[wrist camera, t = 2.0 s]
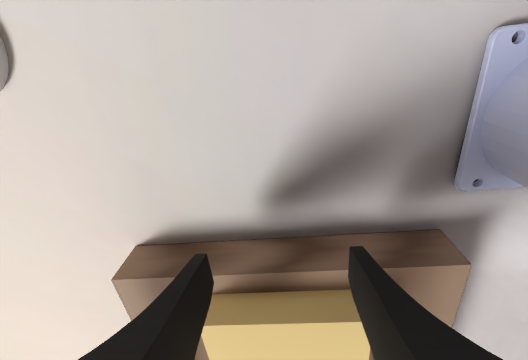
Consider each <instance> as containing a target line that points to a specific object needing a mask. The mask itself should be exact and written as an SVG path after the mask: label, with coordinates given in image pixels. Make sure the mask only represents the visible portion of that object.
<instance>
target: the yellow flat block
mask: <svg viewBox="0 0 528 360" xmlns="http://www.w3.org/2000/svg"><path fill="white" fill-rule="evenodd" d="M201 336H202V339H203V342H204V345H205V348H206V351H207V354H208V357H209V360H369V354H370V345H369V342H368V339H367V336H366V334H365V331H364V328H363V325H362V322H361V320H360V317H359V314H358V311H357V308H356V305H355V303H354V300H353V297H352V292H351V289H349V290H321V291H293V292H266V293H238V294H212V298H211V303H210V307H209V310H208V314H207V317H206V320H205V324H204V327H203V330H202V334H201Z"/></svg>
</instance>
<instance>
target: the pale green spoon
mask: <svg viewBox="0 0 528 360" xmlns="http://www.w3.org/2000/svg"><path fill="white" fill-rule="evenodd" d="M8 73H9V62H8V56H7V52H6V49H5V46H4V43H3V41H2V39H1V36H0V90H1V89H2V88H3V87H4V85H5V83H6V81H7V78H8Z"/></svg>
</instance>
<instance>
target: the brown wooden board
mask: <svg viewBox="0 0 528 360" xmlns="http://www.w3.org/2000/svg"><path fill="white" fill-rule="evenodd" d="M350 246H363V247H364V248H365V249H366V250H367V251H368V253H369V254H370V255H371V256H372V257H373V258H374V260H375V261H376V262H377V263H378V264H379V265H380V266H381V267H382V268H383V270H384V271H385V272H386V273H387V274H388V275H389V276H390V277H391V278H392V279H393V280H394V281H395V282H396V283H397V284H398V285H399V286H400V287H401V288H402V289H403V290H405V291H406V292H407V293H408V294H409V295H410V296H411V297H412V298H413V299H414V300H416V301H417V302H418V303H419V304H420V305H422V306H423V307H424V308H425V309H426V310H428V311H429V312H430V313H432V314H433V315H434V316H435V317H437V318H438V319H440V320H441V321H442V322H444V323H445V324H447V325H448V326H450V327H451V328H452V325H453V322H454V319H455V315H456V312H457V309H458V306H459V303H460V300H461V296H462V293H463V290H464V287H465V284H466V281H467V278H468V274H469V271H470V268H471V264H470V262H469V261H468V260H467V259H466V258H465V257H464V256H463V255H462V253H461V252H460V251H459V250H458V249H457V248H456V247H455V246H454V244H453V243H452V242H451V241H450V240H449V239H448V238H447V237H446V235H445V234H444V233H443V232H442V231H441V230H422V231H404V232H385V233H367V234H348V235H330V236H312V237H293V238H275V239H256V240H238V241H220V242H201V243H183V244H164V245H146V246H135V248H134V249H133V250H132V252H131V253H130V255H129V256H128V257H127V259H126V260H125V262H124V263H123V264H122V266H121V267H120V269H119V270H118V271H117V273H116V274H115V276H114V277H113V278H112V280H111V281H112V283H113V285H114V287H115V289H116V291H117V293H118V295H119V297H120V299H121V301H122V303H123V305H124V307H125V309H126V311H127V313H128V315H129V317H130V319H131V321H132V320H133V319H134V318H136V317H137V316H138V315H139V314H140V313H141V312H142V311H143V310H145V309H146V308H147V307H148V306H149V305H150V304H151V303H152V302H153V301H154V300H155V299H156V298H157V297H158V296H159V295H160V294H161V293H162V292H163V290H164V289H165V288H166V287H167V286H168V285H169V284H170V283H171V282H172V281H173V279H174V278H175V277H176V276H177V275H178V274H179V272H180V271H181V270H182V269H183V268H184V267H185V265H186V264H187V263H188V262H189V261H190V259H191V258H192V257H193V256H194V255H195V254H204V253H207V256H208V260H209V264H210V268H211V272H212V276H213V280H214V286H213V293H212V294H238V293H266V292H293V291H321V290H349V289H351V288H350V284H349V279H348V267H349V247H350ZM195 360H209V357H208V354H207V351H206V348H205V345H204V342H203V339H202V336H201V337H200V341H199V344H198V347H197V351H196V355H195ZM369 360H374V358H373V355H372V351H371V348H370V354H369Z"/></svg>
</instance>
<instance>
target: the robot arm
mask: <svg viewBox="0 0 528 360" xmlns="http://www.w3.org/2000/svg"><path fill="white" fill-rule="evenodd" d="M516 32H517V33H518V37H517V39H516V41H515V42H514V43H512V37H513V35H514V34H515V33H516ZM476 179H478V180H477V182H476V183H474V184H472V183H473V182H474V181H475V180H476ZM454 185H455V186H456V187H457V188H458V189H459V190H461V191H476V190H492V189H507V188H522V187H526V188H527V189H528V23H524V24H515V25H507V26H501V27H498V28H497V29H495V30H494V31H493V32H492V33H491V34H490V36H489V38H488V41H487V45H486V50H485V54H484V58H483V62H482V67H481V71H480V75H479V79H478V83H477V88H476V92H475V96H474V100H473V105H472V109H471V113H470V117H469V122H468V126H467V130H466V134H465V139H464V143H463V147H462V151H461V156H460V160H459V164H458V168H457V173H456V177H455V181H454ZM348 279H349V284H350V288H351V292H352V297H353V300H354V303H355V305H356V308H357V311H358V314H359V317H360V320H361V322H362V325H363V328H364V331H365V334H366V336H367V339H368V342H369V345H370V348H371V351H372V355H373V358H374V360H503V359H501V358H499V357H497V356H496V355H494V354H492V353H490V352H488V351H487V350H485V349H483V348H482V347H480V346H478V345H477V344H475V343H474V342H472V341H470V340H469V339H467V338H466V337H464V336H463V335H461V334H460V333H458V332H457V331H455V330H454V329H452V328H451V327H450V326H448V325H447V324H445V323H444V322H442V321H441V320H440V319H438V318H437V317H435V316H434V315H433V314H432V313H430V312H429V311H428V310H426V309H425V308H424V307H423V306H422V305H420V304H419V303H418V302H417V301H416V300H414V299H413V298H412V297H411V296H410V295H409V294H408V293H407V292H406V291H405V290H403V289H402V288H401V287H400V286H399V285H398V284H397V283H396V282H395V281H394V280H393V279H392V278H391V277H390V276H389V275H388V274H387V273H386V272H385V271H384V270H383V268H382V267H381V266H380V265H379V264H378V263H377V262H376V261H375V260H374V258H373V257H372V256H371V255H370V254H369V253H368V251H367V250H366V249H365V248H364V247H363V246H350V247H349V267H348ZM213 286H214V280H213V276H212V272H211V268H210V264H209V260H208V256H207V253H204V254H195V255H194V256H193V257H192V258H191V259H190V261H189V262H188V263H187V264H186V265H185V267H184V268H183V269H182V270H181V271H180V272H179V274H178V275H177V276H176V277H175V278H174V279H173V281H172V282H171V283H170V284H169V285H168V286H167V287H166V288H165V289H164V290H163V292H162V293H161V294H160V295H159V296H158V297H157V298H156V299H155V300H154V301H153V302H152V303H151V304H150V305H149V306H148V307H147V308H146V309H145V310H143V311H142V312H141V313H140V314H139V315H138V316H137V317H136V318H134V319H133V320H132V321H131V322H130V323H128V324H127V325H126V326H125V327H123V328H122V329H121V330H120V331H118V332H117V333H116V334H114V335H113V336H112V337H110V338H109V339H108V340H106V341H105V342H104V343H102V344H101V345H99V346H98V347H96V348H95V349H93V350H92V351H91V352H89V353H88V354H86V355H84V356H83V357H81V358H80V359H78V360H195V355H196V351H197V347H198V344H199V341H200V337H201V334H202V330H203V327H204V324H205V320H206V317H207V314H208V310H209V307H210V303H211V298H212V293H213Z"/></svg>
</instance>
